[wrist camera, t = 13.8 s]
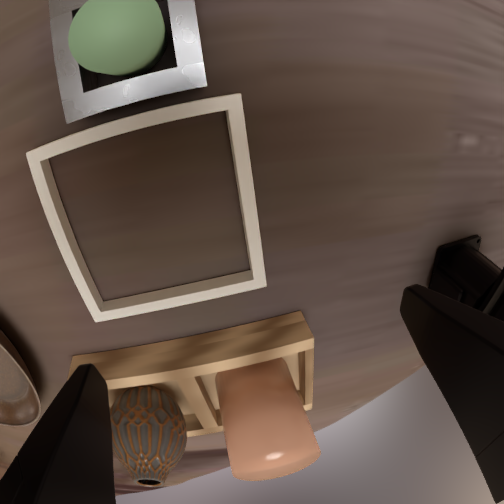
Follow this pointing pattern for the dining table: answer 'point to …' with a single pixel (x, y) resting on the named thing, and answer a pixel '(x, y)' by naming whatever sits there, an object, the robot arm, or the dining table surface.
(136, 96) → the button housing
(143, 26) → the button
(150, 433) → the vase
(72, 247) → the white square frame
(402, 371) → the dining table surface
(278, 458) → the block
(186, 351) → the pallet
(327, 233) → the dining table surface
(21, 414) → the plant saucer
